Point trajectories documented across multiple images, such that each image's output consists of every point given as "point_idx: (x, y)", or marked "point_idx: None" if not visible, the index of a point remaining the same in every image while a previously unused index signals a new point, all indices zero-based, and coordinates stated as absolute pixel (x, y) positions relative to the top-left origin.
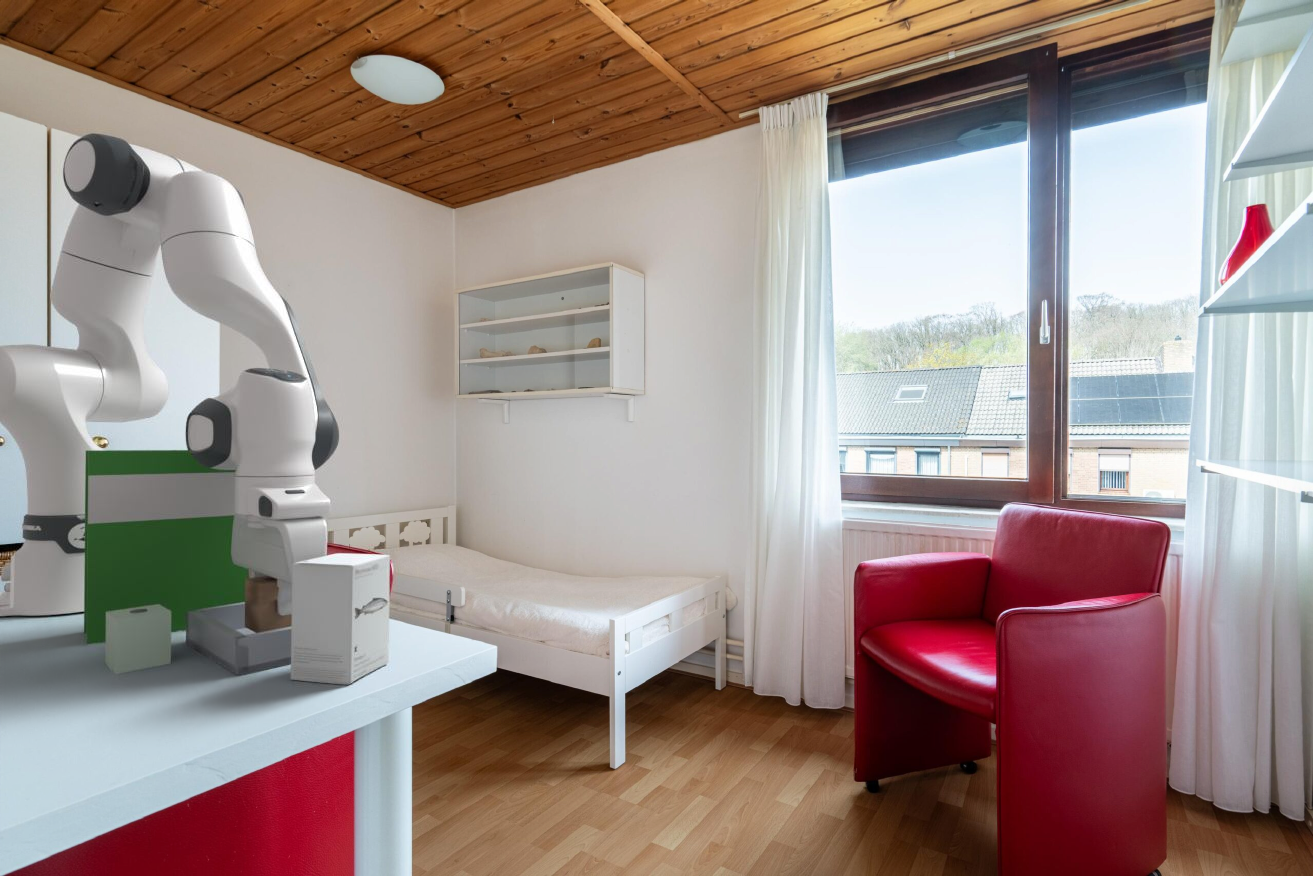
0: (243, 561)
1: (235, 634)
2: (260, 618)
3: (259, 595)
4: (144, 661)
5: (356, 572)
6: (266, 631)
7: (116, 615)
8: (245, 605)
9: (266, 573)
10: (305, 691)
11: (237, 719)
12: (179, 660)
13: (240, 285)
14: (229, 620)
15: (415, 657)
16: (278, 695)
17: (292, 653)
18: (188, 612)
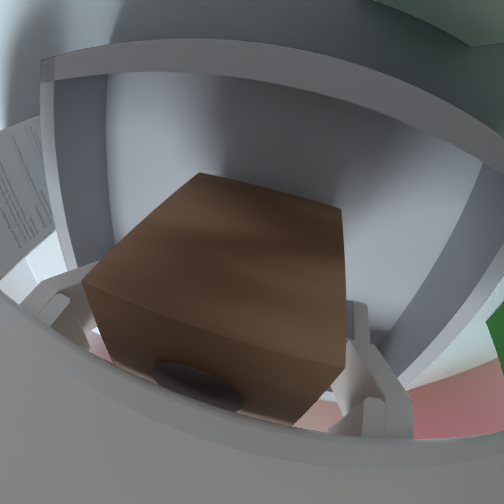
0: (438, 473)
1: (72, 61)
2: (172, 194)
3: (129, 246)
4: None
5: None
6: (52, 133)
7: None
8: (336, 252)
9: (66, 351)
10: (12, 113)
11: (2, 33)
12: (362, 17)
13: None
14: (462, 251)
15: (51, 264)
16: (17, 82)
17: (4, 129)
18: None
